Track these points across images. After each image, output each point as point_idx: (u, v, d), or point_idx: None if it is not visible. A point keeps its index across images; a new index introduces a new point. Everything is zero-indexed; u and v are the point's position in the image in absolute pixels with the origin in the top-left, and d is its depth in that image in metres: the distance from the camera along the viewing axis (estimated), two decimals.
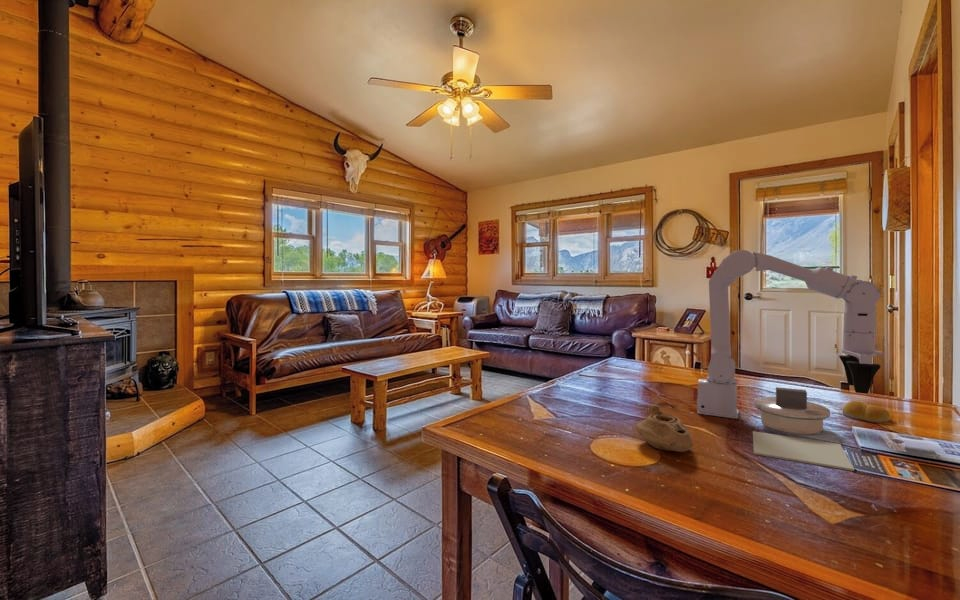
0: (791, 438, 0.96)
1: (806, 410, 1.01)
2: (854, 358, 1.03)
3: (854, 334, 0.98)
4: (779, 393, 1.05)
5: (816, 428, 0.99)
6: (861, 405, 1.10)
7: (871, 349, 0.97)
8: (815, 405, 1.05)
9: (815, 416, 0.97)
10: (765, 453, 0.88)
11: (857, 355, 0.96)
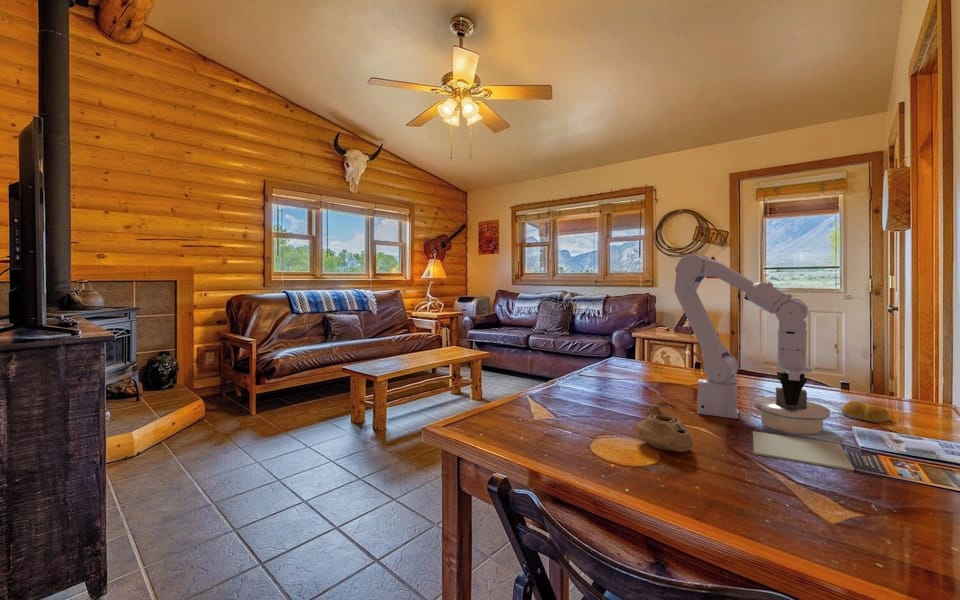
0: (791, 438, 0.96)
1: (806, 410, 1.01)
2: None
3: (786, 351, 1.03)
4: (779, 393, 1.05)
5: (816, 428, 0.99)
6: (860, 405, 1.10)
7: (801, 365, 1.02)
8: (815, 405, 1.05)
9: (815, 416, 0.97)
10: (765, 453, 0.88)
11: (787, 372, 1.00)
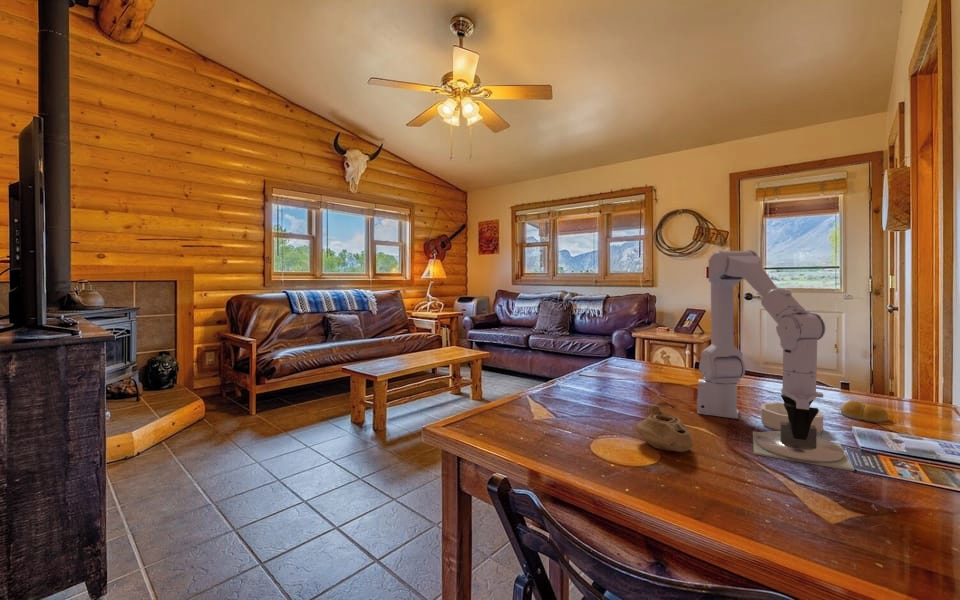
0: None
1: (816, 450, 0.87)
2: None
3: (793, 374, 0.88)
4: (784, 429, 0.91)
5: (816, 428, 0.99)
6: (859, 405, 1.10)
7: (811, 391, 0.87)
8: (826, 443, 0.91)
9: (827, 459, 0.83)
10: (765, 453, 0.88)
11: (794, 398, 0.86)
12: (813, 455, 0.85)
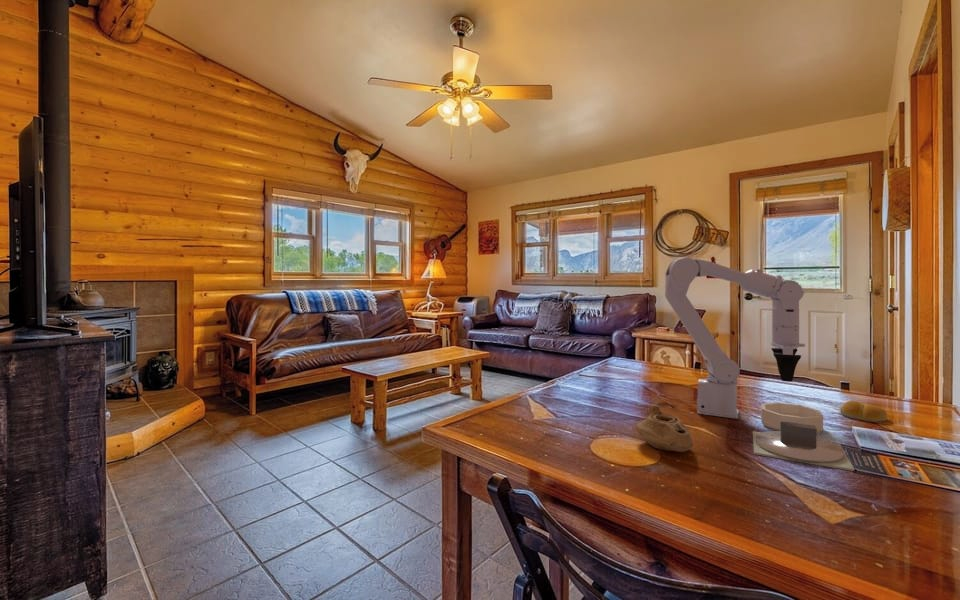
0: None
1: (816, 450, 0.87)
2: None
3: (780, 328, 1.09)
4: (784, 429, 0.91)
5: (816, 428, 0.99)
6: (859, 405, 1.10)
7: (795, 341, 1.08)
8: (826, 443, 0.91)
9: (827, 459, 0.83)
10: (765, 453, 0.88)
11: (781, 347, 1.06)
12: (813, 455, 0.85)
